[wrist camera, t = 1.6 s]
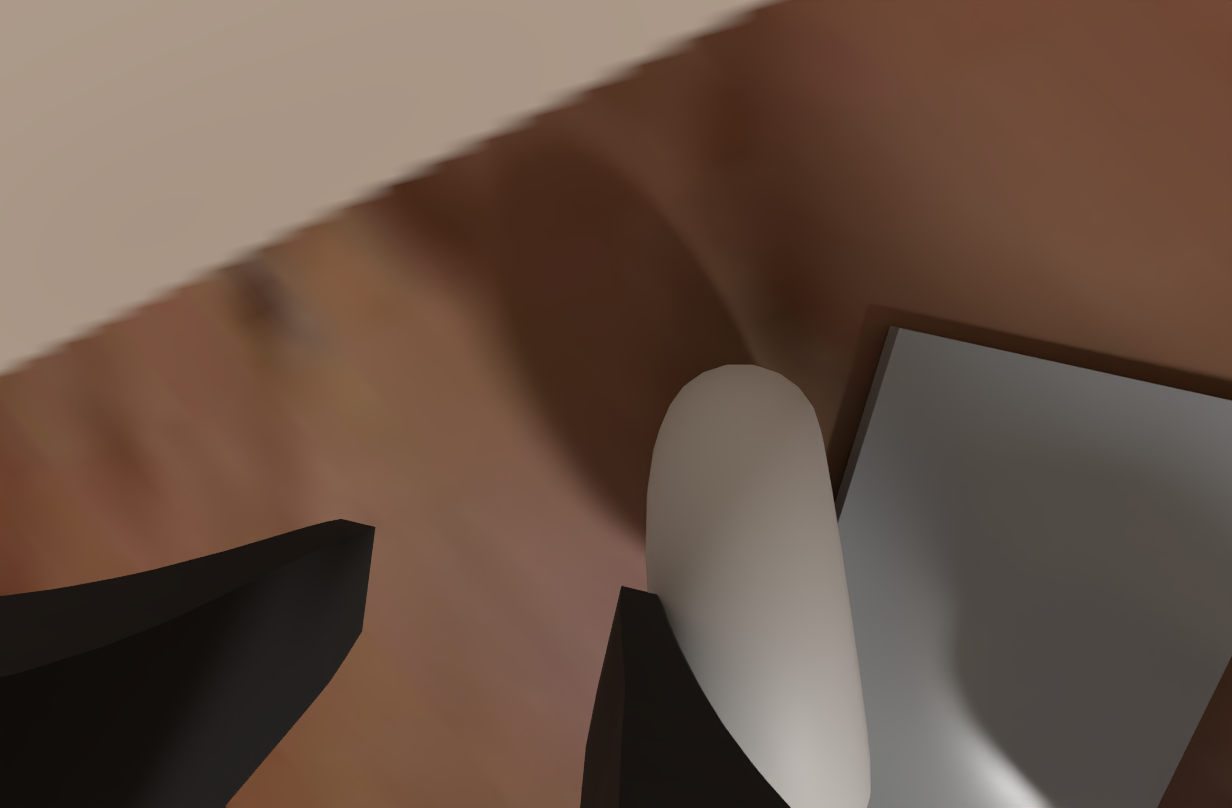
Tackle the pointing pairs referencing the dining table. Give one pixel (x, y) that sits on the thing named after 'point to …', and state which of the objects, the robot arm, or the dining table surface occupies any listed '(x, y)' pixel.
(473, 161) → the dining table surface
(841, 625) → the donut
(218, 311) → the dining table surface
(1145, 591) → the slate board
